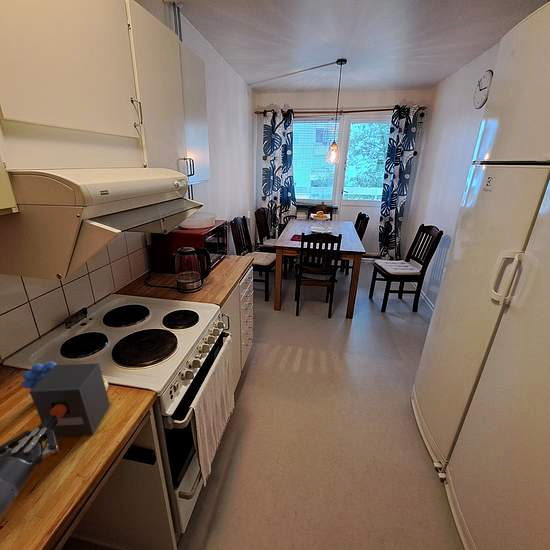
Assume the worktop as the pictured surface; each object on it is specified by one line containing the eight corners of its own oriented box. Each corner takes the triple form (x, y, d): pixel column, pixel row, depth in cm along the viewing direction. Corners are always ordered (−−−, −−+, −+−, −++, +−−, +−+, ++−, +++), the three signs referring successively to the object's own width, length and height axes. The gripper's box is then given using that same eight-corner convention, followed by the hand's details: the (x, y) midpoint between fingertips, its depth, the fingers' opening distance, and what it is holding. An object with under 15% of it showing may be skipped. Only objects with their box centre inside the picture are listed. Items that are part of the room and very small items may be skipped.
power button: (51, 418, 73) (48, 409, 72) (55, 413, 75) (52, 404, 74) (64, 417, 74) (61, 408, 72) (68, 412, 75) (65, 403, 74)
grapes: (30, 410, 86) (17, 378, 81) (28, 397, 90) (16, 366, 86) (75, 391, 93) (65, 361, 89) (71, 380, 98) (62, 351, 93)
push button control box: (46, 437, 77) (28, 392, 72) (69, 407, 87) (55, 364, 81) (92, 435, 78) (78, 390, 72) (110, 405, 88) (99, 363, 82)
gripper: (25, 477, 55) (77, 405, 71) (-49, 481, 54) (20, 407, 70) (37, 501, 58) (84, 427, 74) (-33, 506, 57) (30, 429, 73)
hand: (53, 417), depth 72 cm, fingers closed
